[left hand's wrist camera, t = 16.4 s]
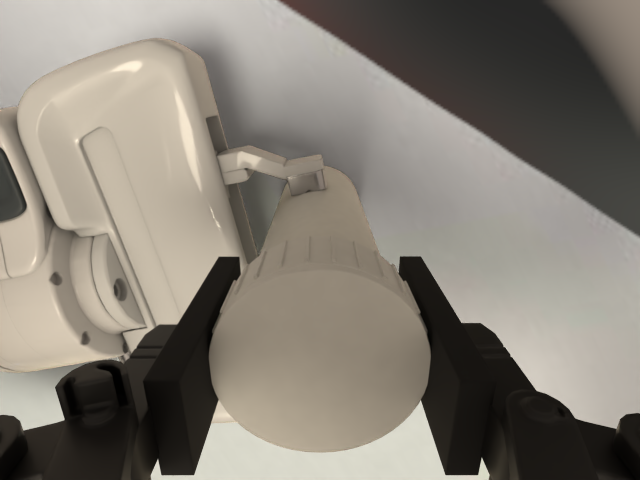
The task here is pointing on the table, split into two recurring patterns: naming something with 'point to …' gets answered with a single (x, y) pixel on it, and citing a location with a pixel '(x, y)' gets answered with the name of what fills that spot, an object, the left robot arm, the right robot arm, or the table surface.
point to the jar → (321, 214)
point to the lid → (319, 346)
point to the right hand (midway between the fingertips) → (336, 231)
